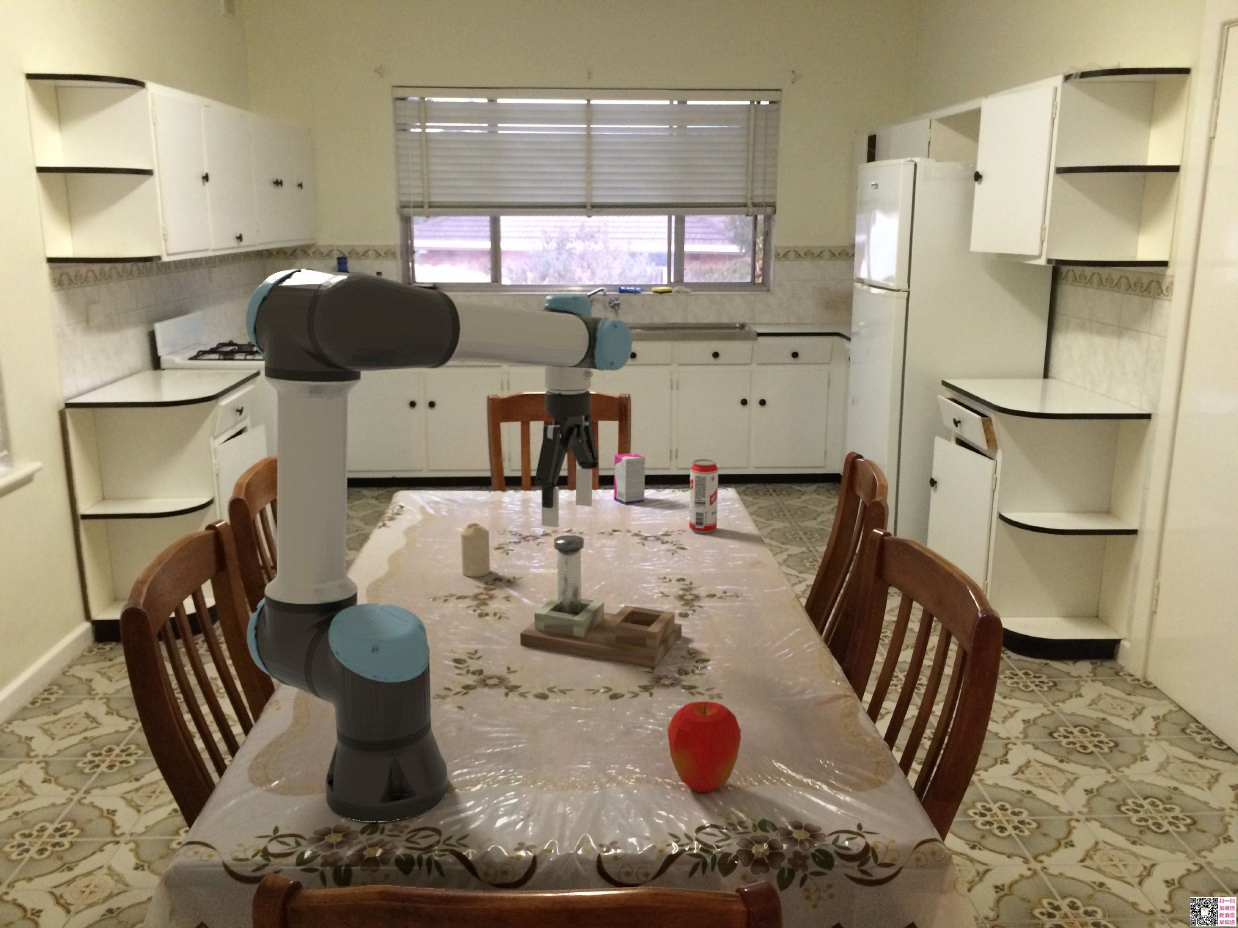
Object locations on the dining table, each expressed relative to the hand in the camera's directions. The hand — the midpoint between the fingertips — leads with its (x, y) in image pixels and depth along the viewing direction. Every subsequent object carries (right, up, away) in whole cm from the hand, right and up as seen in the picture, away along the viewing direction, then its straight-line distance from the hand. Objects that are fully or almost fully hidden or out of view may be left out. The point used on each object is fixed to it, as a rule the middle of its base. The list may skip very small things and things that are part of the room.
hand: (567, 515), depth 178 cm
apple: (+19, -33, -41) cm, 56 cm away
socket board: (+6, -21, +3) cm, 22 cm away
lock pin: (0, -19, +5) cm, 20 cm away
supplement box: (+11, -1, +87) cm, 87 cm away
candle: (-20, -13, +36) cm, 43 cm away
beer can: (+28, -7, +63) cm, 69 cm away
